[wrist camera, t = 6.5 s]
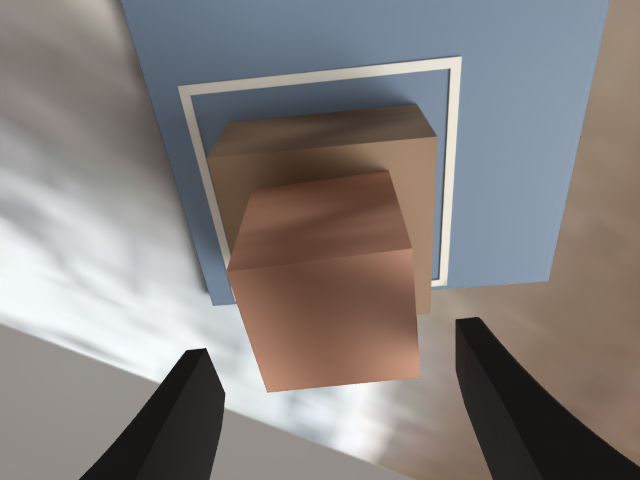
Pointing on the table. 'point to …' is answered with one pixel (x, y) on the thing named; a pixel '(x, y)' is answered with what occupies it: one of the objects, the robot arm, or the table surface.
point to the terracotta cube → (327, 283)
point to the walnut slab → (335, 166)
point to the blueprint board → (384, 91)
